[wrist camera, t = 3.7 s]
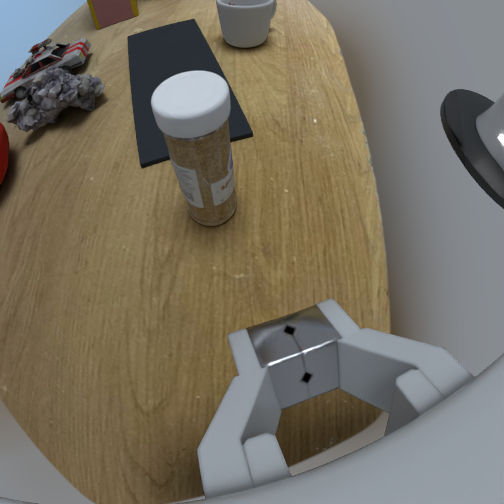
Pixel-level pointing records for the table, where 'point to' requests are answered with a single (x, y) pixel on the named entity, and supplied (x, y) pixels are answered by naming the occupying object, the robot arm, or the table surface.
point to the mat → (163, 67)
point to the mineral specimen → (54, 98)
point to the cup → (245, 21)
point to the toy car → (44, 65)
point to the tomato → (3, 152)
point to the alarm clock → (112, 11)
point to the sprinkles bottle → (199, 141)
